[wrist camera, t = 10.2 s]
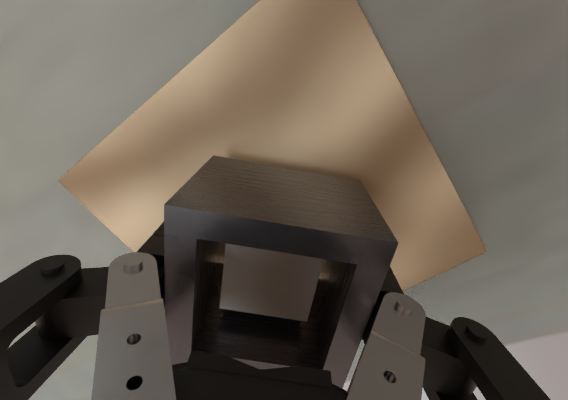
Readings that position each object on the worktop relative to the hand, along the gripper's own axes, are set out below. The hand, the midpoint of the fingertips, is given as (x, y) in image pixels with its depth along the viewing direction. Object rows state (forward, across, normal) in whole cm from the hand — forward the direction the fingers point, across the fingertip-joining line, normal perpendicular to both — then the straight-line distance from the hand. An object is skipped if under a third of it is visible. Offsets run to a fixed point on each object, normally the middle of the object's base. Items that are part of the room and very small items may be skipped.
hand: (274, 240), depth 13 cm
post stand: (+4, 0, 0) cm, 4 cm away
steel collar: (+1, 0, 0) cm, 1 cm away
